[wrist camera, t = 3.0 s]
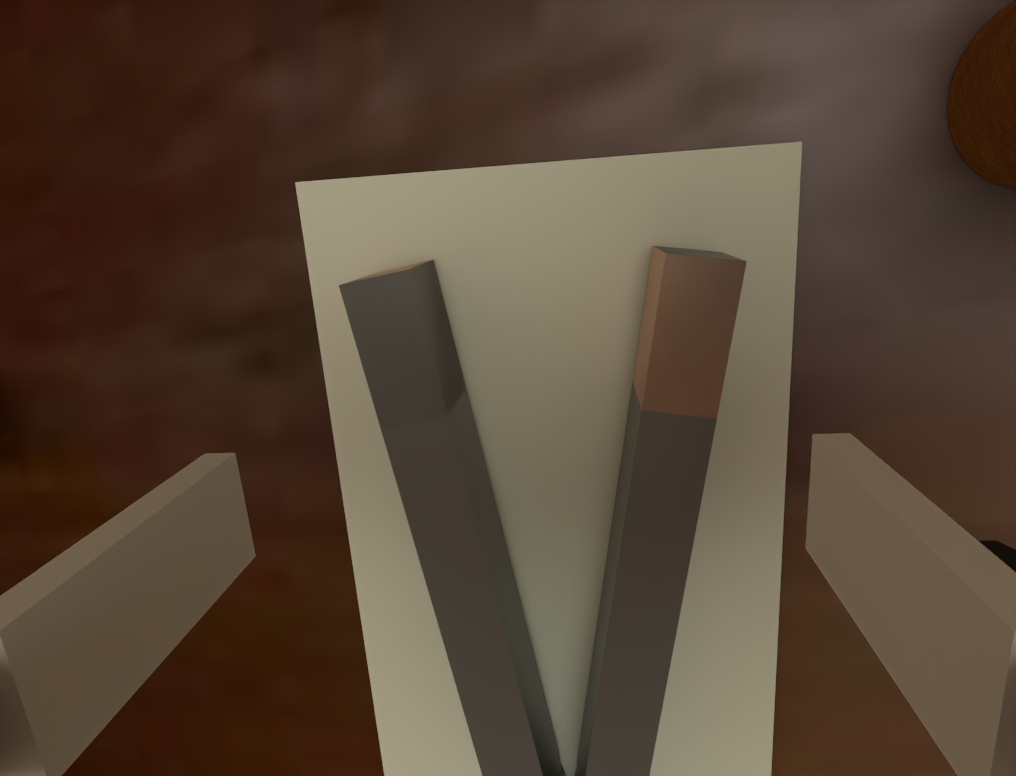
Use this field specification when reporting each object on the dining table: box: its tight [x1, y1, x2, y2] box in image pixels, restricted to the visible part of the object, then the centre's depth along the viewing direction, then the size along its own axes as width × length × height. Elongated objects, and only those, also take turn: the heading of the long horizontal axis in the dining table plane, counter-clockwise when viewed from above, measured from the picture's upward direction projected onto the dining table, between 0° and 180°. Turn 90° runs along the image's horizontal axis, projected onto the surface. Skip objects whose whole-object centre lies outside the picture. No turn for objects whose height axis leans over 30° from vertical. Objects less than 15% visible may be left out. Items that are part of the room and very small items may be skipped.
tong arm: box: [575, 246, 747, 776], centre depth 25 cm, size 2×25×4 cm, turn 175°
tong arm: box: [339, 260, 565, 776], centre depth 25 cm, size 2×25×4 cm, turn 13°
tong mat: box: [295, 142, 802, 776], centre depth 28 cm, size 18×32×1 cm, turn 4°
